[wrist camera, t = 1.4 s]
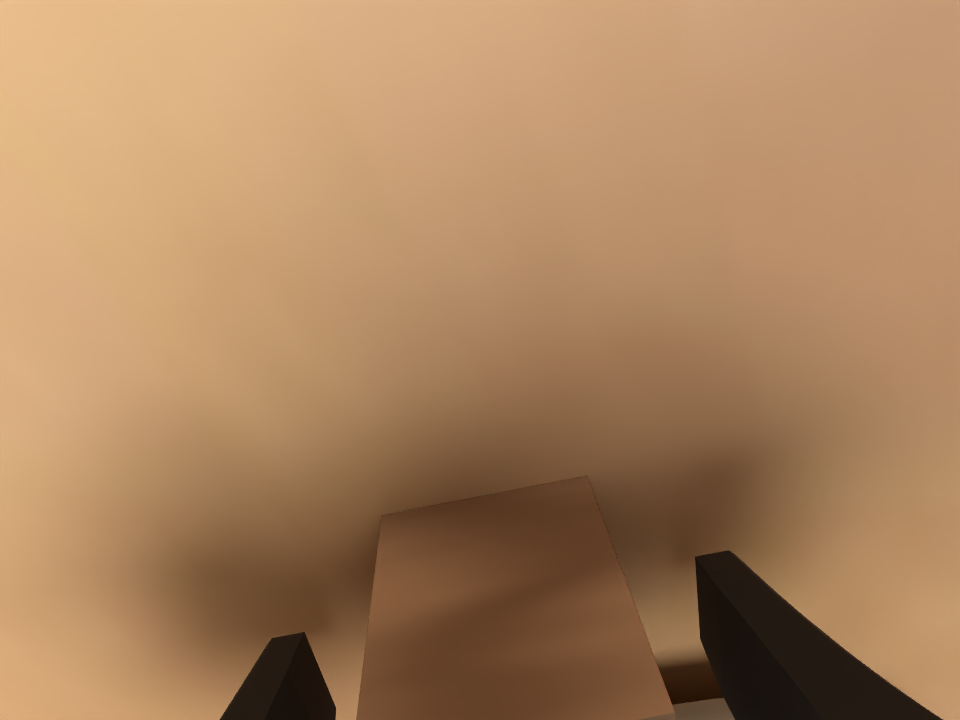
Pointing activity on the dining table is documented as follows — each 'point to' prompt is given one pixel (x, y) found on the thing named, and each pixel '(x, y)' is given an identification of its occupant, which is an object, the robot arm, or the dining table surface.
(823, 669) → the robot arm
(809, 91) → the dining table surface
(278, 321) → the dining table surface
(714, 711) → the turntable
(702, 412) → the dining table surface
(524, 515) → the walnut block
